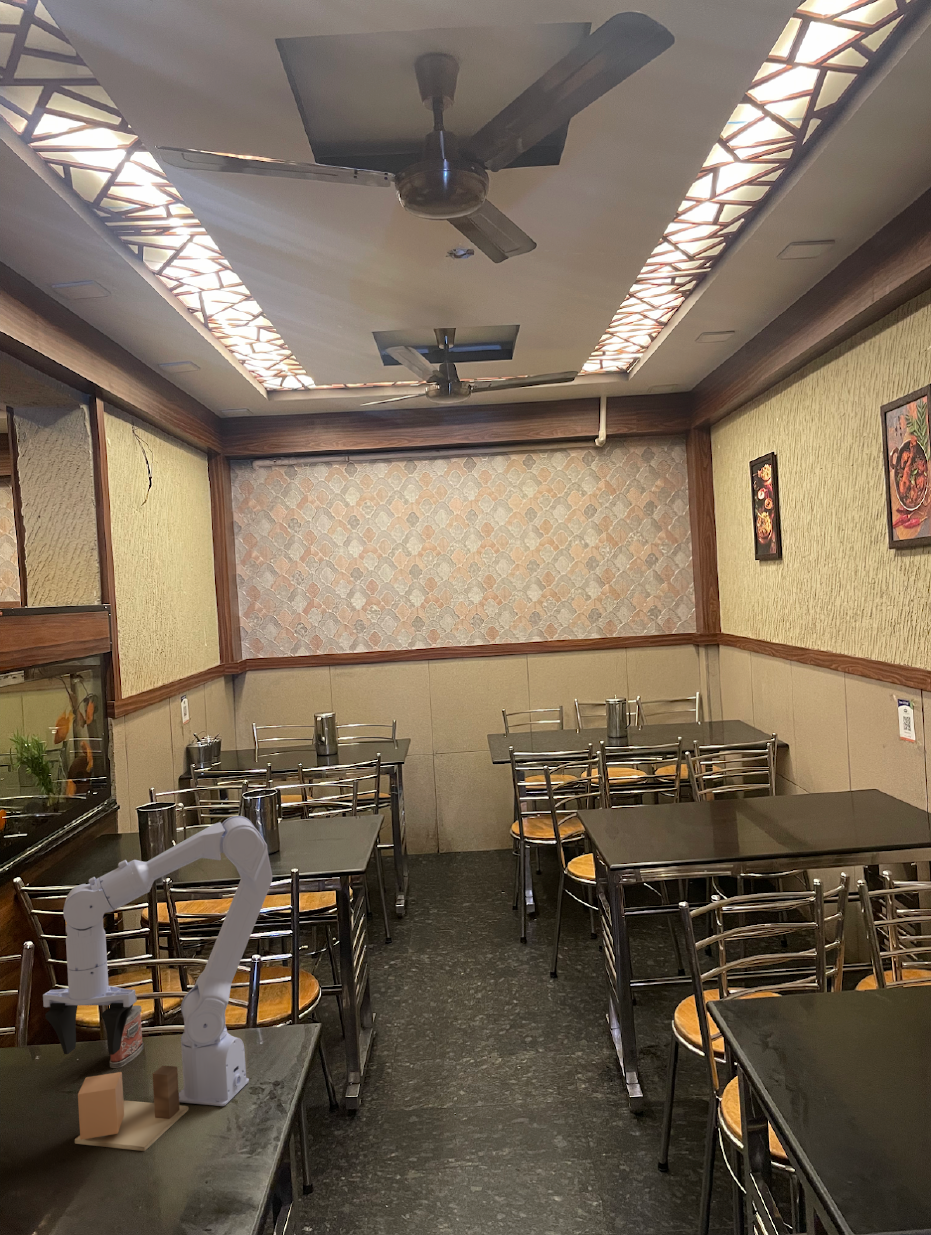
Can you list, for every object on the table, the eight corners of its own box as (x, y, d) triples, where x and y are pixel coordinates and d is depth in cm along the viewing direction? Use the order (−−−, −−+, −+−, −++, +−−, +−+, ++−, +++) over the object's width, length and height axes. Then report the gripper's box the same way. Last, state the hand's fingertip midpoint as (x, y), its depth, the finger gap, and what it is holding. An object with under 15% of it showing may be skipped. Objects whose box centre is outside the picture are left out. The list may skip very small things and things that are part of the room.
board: (188, 1110, 137) (187, 1106, 137) (144, 1150, 127) (144, 1146, 127) (122, 1103, 141) (122, 1100, 141) (74, 1143, 130) (74, 1139, 130)
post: (179, 1109, 136) (177, 1066, 137) (169, 1119, 134) (167, 1074, 134) (165, 1108, 137) (162, 1065, 137) (155, 1117, 135) (152, 1073, 135)
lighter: (122, 1068, 153) (119, 1010, 153) (105, 1067, 154) (101, 1010, 154) (148, 1046, 161) (144, 991, 161) (131, 1045, 162) (128, 991, 162)
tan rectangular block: (124, 1115, 135) (121, 1071, 135) (117, 1133, 130) (115, 1088, 130) (88, 1120, 134) (85, 1077, 134) (80, 1139, 129) (77, 1094, 129)
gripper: (143, 954, 140) (148, 1039, 140) (60, 954, 142) (65, 1039, 142) (119, 971, 133) (124, 1061, 133) (32, 971, 135) (37, 1060, 135)
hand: (92, 1051), depth 137 cm, fingers open, 7 cm apart
